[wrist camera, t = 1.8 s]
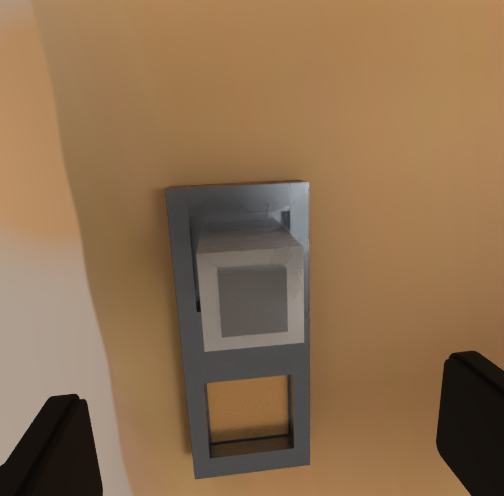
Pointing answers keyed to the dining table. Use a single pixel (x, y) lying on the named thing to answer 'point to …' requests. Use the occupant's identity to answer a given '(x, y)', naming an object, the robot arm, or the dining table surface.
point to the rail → (245, 359)
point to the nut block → (250, 285)
